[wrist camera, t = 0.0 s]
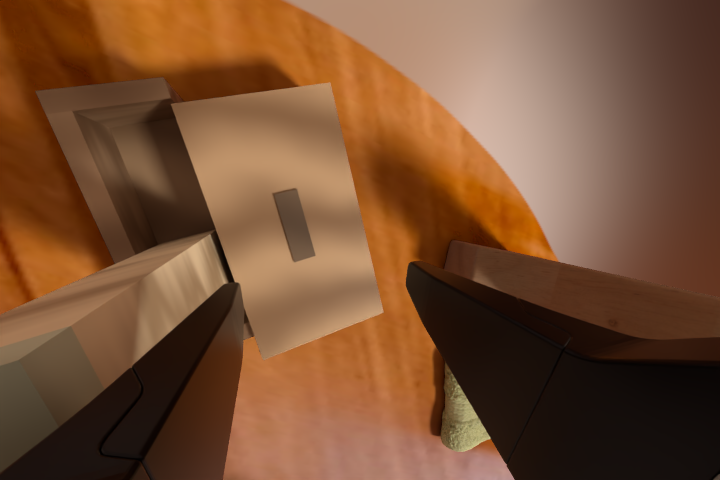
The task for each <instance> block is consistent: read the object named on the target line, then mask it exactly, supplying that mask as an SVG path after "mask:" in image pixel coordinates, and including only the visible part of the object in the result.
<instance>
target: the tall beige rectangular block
mask: <svg viewBox="0 0 720 480" xmlns="http://www.w3.org/2000/svg"><path fill="white" fill-rule="evenodd" d="M234 282H235V281H234V278H233V275H232V272H231V270H230V267H229V264H228V261H227V259H226V256H225V253H224V250H223V247H222V245H221V242H220V239H219V236H218V234H217V231H216V229H215V230H211V231H208V232H204V233H200V234H196V235H192V236H188V237H184V238H180V239H176V240H173V241H169V242H165V243H162V244H159V245H157V246H155V247H152V248H150V249H148V250H146V251H143V252H141V253H139V254H137V255H134V256H132V257H130V258H128V259H125V260H123V261H121V262H119V263H116V264H114V265H112V266H109V267H107V268H105V269H103V270H100V271H98V272H96V273H94V274H91V275H89V276H87V277H85V278H82V279H80V280H78V281H75V282H73V283H71V284H69V285H66V286H64V287H62V288H60V289H57V290H55V291H53V292H51V293H48V294H46V295H44V296H42V297H39V298H37V299H35V300H32V301H30V302H28V303H26V304H23V305H21V306H19V307H17V308H14V309H12V310H10V311H8V312H5V313H3V314H1V315H0V473H1V472H2V471H3V470H5V469H6V468H7V467H8V466H10V465H11V464H12V463H14V462H15V461H16V460H17V459H19V458H20V457H21V456H22V455H24V454H25V453H26V452H28V451H29V450H30V449H31V448H33V447H34V446H35V445H37V444H38V443H39V442H40V441H42V440H43V439H44V438H46V437H47V436H48V435H49V434H51V433H52V432H53V431H54V430H56V429H57V428H58V427H59V426H61V425H62V424H63V423H64V422H66V421H67V420H68V419H69V418H71V417H72V416H73V415H74V414H76V413H77V412H78V411H79V410H81V409H82V408H83V407H84V406H86V405H87V404H88V403H89V402H90V401H92V400H93V399H94V398H95V397H96V396H97V395H99V394H100V393H101V392H102V391H103V390H105V389H106V388H107V387H108V386H109V385H110V384H112V383H113V382H114V381H115V380H116V379H117V378H118V377H119V376H121V375H122V374H123V373H124V372H125V371H126V370H127V369H129V368H132V365H133V364H134V363H135V362H137V361H138V360H139V359H140V358H141V357H142V356H143V355H144V354H146V353H147V352H148V351H149V350H150V349H151V348H152V347H153V346H155V345H156V344H157V343H158V342H159V341H160V340H161V339H162V338H164V337H165V336H166V335H167V334H168V333H169V332H170V331H171V330H173V329H174V328H175V327H176V326H177V325H178V324H179V323H180V322H182V321H183V320H184V319H185V318H186V317H187V316H188V315H189V314H191V313H192V312H193V311H194V310H195V309H196V308H197V307H198V306H200V305H201V304H202V303H203V302H204V301H205V300H206V299H207V298H209V297H210V296H211V295H212V294H213V293H214V292H215V291H216V290H218V289H219V288H220V287H221V286H222V285H223V284H226V283H234Z"/></svg>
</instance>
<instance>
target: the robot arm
mask: <svg viewBox="0 0 720 480" xmlns="http://www.w3.org/2000/svg"><path fill="white" fill-rule="evenodd" d="M406 287H407V290H408V292H409V294H410V297H411V299H412V301H413V303H414V306H415V308H416V310H417V312H418V314H419V317H420V319H421V321H422V323H423V325H424V326H425V328H426V330H427V332H428V333H429V335H430V337H431V338H432V340H433V342H434V344H435V345H436V347H437V349H438V350H439V352H440V354H441V355H442V357H443V359H444V360H445V362H446V364H447V366H448V367H449V369H450V371H451V372H452V374H453V376H454V377H455V379H456V381H457V382H458V384H459V386H460V387H461V389H462V391H463V393H464V394H465V396H466V398H467V399H468V401H469V403H470V404H471V406H472V408H473V409H474V411H475V413H476V415H477V416H478V418H479V420H480V421H481V423H482V425H483V426H484V428H485V430H486V431H487V433H488V435H489V436H490V438H491V440H492V442H493V443H494V445H495V447H496V448H497V450H498V452H499V453H500V455H501V457H502V458H503V460H504V462H505V463H506V464H507V467H508V469H509V471H510V472H511V474H512V476H513V477H514V479H515V480H720V337H709V338H688V339H667V340H658V339H646V338H639V337H635V336H630V335H627V334H623V333H620V332H617V331H614V330H611V329H608V328H605V327H602V326H599V325H595V324H592V323H589V322H586V321H583V320H580V319H577V318H574V317H571V316H568V315H565V314H562V313H559V312H556V311H553V310H550V309H548V308H545V307H542V306H539V305H537V304H534V303H531V302H528V301H526V300H523V299H520V298H517V297H515V296H512V295H510V294H507V293H504V292H502V291H499V290H497V289H494V288H491V287H489V286H486V285H483V284H481V283H478V282H475V281H473V280H470V279H467V278H465V277H462V276H460V275H457V274H454V273H452V272H449V271H446V270H444V269H441V268H438V267H436V266H433V265H430V264H428V263H425V262H423V261H414V262H410V263H409V265H408V270H407V277H406ZM243 334H244V304H243V298H242V292H241V286H240V284H239V283H238V282H234V283H226V284H223V285H222V286H221V287H220V288H219V289H218V290H216V291H215V292H214V293H213V294H212V295H211V296H210V297H209V298H207V299H206V300H205V301H204V302H203V303H202V304H201V305H200V306H198V307H197V308H196V309H195V310H194V311H193V312H192V313H191V314H189V315H188V316H187V317H186V318H185V319H184V320H183V321H182V322H180V323H179V324H178V325H177V326H176V327H175V328H174V329H173V330H171V331H170V332H169V333H168V334H167V335H166V336H165V337H164V338H162V339H161V340H160V341H159V342H158V343H157V344H156V345H155V346H153V347H152V348H151V349H150V350H149V351H148V352H147V353H146V354H144V355H143V356H142V357H141V358H140V359H139V360H138V361H137V362H135V363H134V364H133V365H132V368H129V369H127V370H126V371H125V372H124V373H123V374H122V375H121V376H119V377H118V378H117V379H116V380H115V381H114V382H113V383H112V384H110V385H109V386H108V387H107V388H106V389H105V390H103V391H102V392H101V393H100V394H99V395H97V396H96V397H95V398H94V399H93V400H92V401H90V402H89V403H88V404H87V405H86V406H84V407H83V408H82V409H81V410H79V411H78V412H77V413H76V414H74V415H73V416H72V417H71V418H69V419H68V420H67V421H66V422H64V423H63V424H62V425H61V426H59V427H58V428H57V429H56V430H54V431H53V432H52V433H51V434H49V435H48V436H47V437H46V438H44V439H43V440H42V441H40V442H39V443H38V444H37V445H35V446H34V447H33V448H31V449H30V450H29V451H28V452H26V453H25V454H24V455H22V456H21V457H20V458H19V459H17V460H16V461H15V462H14V463H12V464H11V465H10V466H8V467H7V468H6V469H5V470H3V471H2V472H1V473H0V480H223V474H224V468H225V462H226V456H227V450H228V444H229V438H230V432H231V426H232V420H233V414H234V408H235V402H236V396H237V390H238V384H239V378H240V372H241V365H242V358H243Z"/></svg>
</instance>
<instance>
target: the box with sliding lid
mask: <svg viewBox="0 0 720 480" xmlns="http://www.w3.org/2000/svg"><path fill="white" fill-rule="evenodd" d="M35 92H36V94H37V96H38V99H39V101H40V103H41V105H42V107H43V109H44V112H45V114H46V116H47V118H48V120H49V122H50V125H51V127H52V129H53V131H54V133H55V135H56V138H57V140H58V142H59V144H60V146H61V148H62V151H63V153H64V155H65V157H66V159H67V161H68V164H69V166H70V168H71V170H72V172H73V174H74V177H75V179H76V181H77V183H78V185H79V187H80V190H81V192H82V194H83V196H84V198H85V200H86V203H87V205H88V207H89V209H90V211H91V213H92V215H93V218H94V220H95V222H96V224H97V226H98V228H99V231H100V233H101V235H102V237H103V239H104V241H105V244H106V246H107V248H108V250H109V252H110V254H111V257H112V259H113V261H114V263H115V264H116V263H119V262H121V261H123V260H125V259H128V258H130V257H132V256H134V255H137V254H139V253H141V252H143V251H146V250H148V249H150V248H152V247H155V246H157V245H159V244H162V243H165V242H169V241H173V240H176V239H180V238H184V237H188V236H192V235H196V234H200V233H204V232H208V231H211V230H215V229H216V231H217V234H218V236H219V239H220V242H221V245H222V247H223V250H224V253H225V256H226V259H227V261H228V264H229V267H230V270H231V272H232V275H233V278H234V281H235V282H238V283H239V284H240V286H241V292H242V298H243V304H244V334H243V340H245V339H248V338H251V337H253V336H255V339H256V342H257V345H258V347H259V350H260V353H261V356H262V358H263V360H265V359H268V358H270V357H273V356H275V355H278V354H280V353H283V352H285V351H288V350H290V349H293V348H295V347H298V346H300V345H303V344H306V343H308V342H311V341H313V340H316V339H318V338H321V337H323V336H326V335H328V334H331V333H333V332H336V331H338V330H341V329H343V328H346V327H348V326H351V325H353V324H356V323H358V322H361V321H363V320H366V319H368V318H371V317H373V316H376V315H379V314H381V313H384V312H383V308H382V304H381V299H380V295H379V291H378V286H377V282H376V278H375V273H374V269H373V265H372V260H371V256H370V252H369V248H368V243H367V239H366V235H365V230H364V226H363V222H362V217H361V213H360V209H359V204H358V200H357V196H356V191H355V187H354V183H353V179H352V174H351V170H350V166H349V161H348V157H347V153H346V148H345V144H344V140H343V135H342V131H341V127H340V122H339V118H338V114H337V110H336V105H335V101H334V97H333V92H332V88H331V84H330V83H323V84H316V85H308V86H301V87H293V88H286V89H278V90H271V91H263V92H256V93H248V94H241V95H233V96H226V97H218V98H211V99H203V100H196V101H188V102H183V100H182V98H181V97H180V96H179V95H178V94H177V93H176V91H175V90H174V89H173V88H172V87H171V86H170V84H169V83H168V82H167V81H166V80H165V79H164V77H159V78H150V79H141V80H131V81H122V82H113V83H104V84H95V85H85V86H76V87H67V88H58V89H48V90H39V91H35Z"/></svg>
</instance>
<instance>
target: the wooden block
mask: <svg viewBox="0 0 720 480" xmlns="http://www.w3.org/2000/svg"><path fill="white" fill-rule="evenodd" d="M444 270H446V271H449V272H452V273H454V274H457V275H460V276H462V277H465V278H467V279H470V280H473V281H475V282H478V283H481V284H483V285H486V286H489V287H491V288H494V289H497V290H499V291H502V292H504V293H507V294H510V295H512V296H515V297H517V298H520V299H523V300H526V301H528V302H531V303H534V304H537V305H539V306H542V307H545V308H548V309H550V310H553V311H556V312H559V313H562V314H565V315H568V316H571V317H574V318H577V319H580V320H583V321H586V322H589V323H592V324H595V325H599V326H602V327H605V328H608V329H611V330H614V331H617V332H620V333H623V334H627V335H630V336H635V337H639V338H646V339H658V340H667V339H688V338H709V337H720V298H718V297H714V296H709V295H705V294H700V293H696V292H691V291H687V290H683V289H678V288H674V287H669V286H665V285H660V284H656V283H651V282H646V281H642V280H637V279H632V278H628V277H624V276H619V275H615V274H610V273H606V272H601V271H597V270H592V269H588V268H583V267H578V266H574V265H570V264H565V263H561V262H556V261H552V260H547V259H543V258H538V257H533V256H529V255H524V254H520V253H515V252H511V251H506V250H501V249H496V248H491V247H486V246H482V245H477V244H472V243H467V242H462V241H457V240H453V241H451V242H450V246H449V250H448V254H447V258H446V262H445V267H444Z"/></svg>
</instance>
